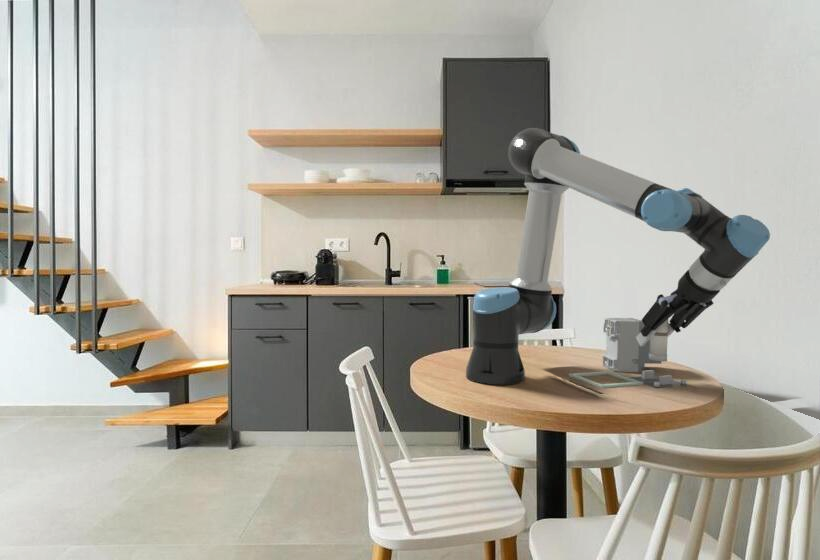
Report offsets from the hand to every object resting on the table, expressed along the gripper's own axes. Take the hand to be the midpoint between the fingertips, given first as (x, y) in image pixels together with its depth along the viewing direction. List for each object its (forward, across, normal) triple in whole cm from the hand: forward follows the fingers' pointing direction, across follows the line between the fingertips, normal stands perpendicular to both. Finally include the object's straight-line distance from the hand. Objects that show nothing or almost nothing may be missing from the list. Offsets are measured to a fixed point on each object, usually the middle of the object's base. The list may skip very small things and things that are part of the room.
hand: (647, 341), depth 118 cm
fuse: (0, 0, -5) cm, 5 cm away
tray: (+7, -12, -8) cm, 16 cm away
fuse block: (+5, 0, -10) cm, 11 cm away
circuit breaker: (+15, +4, -1) cm, 15 cm away
